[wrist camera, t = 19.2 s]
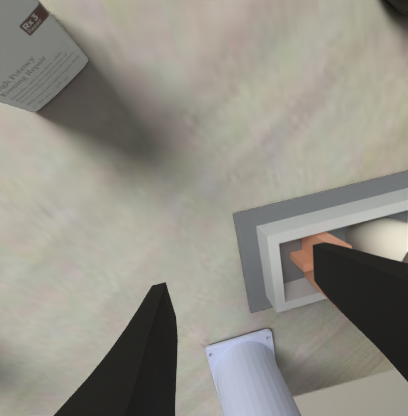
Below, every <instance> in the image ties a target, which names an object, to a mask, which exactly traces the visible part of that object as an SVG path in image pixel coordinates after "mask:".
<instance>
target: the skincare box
mask: <svg viewBox="0 0 408 416" xmlns="http://www.w3.org/2000/svg"><path fill="white" fill-rule="evenodd" d="M87 62H88V57H87V56H86V55H85V54H84V52H83V51H82V50H81V49H80V48H79V47H78V45H77V44H76V43H75V42H74V41H73V40H72V38H71V37H70V36H69V35H68V34H67V33H66V31H65V30H64V29H63V28H62V27H61V26H60V24H59V23H58V22H57V21H56V20H55V19H54V17H53V16H52V15H51V14H50V13H49V12H48V10H47V9H46V8H45V7H44V6H43V5H42V3H41V2H40V1H39V0H0V102H2V103H5V104H8V105H11V106H15V107H18V108H21V109H24V110H27V111H30V112H35V111H38V110H40V109H41V108H42V107H43V106H44V105H46V104H47V103H48V102H49V101H50V100H51V99H52V98H54V97H55V96H56V95H57V94H58V93H59V92H60V91H61V90H62V89H63V88H64V87H65V86H66V85H67V84H68V83H69V82H70V81H71V80H72V79H73V78H74V77H75V76H76V75H77V74H78V73H79V72H80V71H81V70H82V69H83V68H84V67H85V65H86V64H87Z"/></svg>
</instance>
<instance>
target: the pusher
mask: <svg viewBox="0 0 408 416" xmlns="http://www.w3.org/2000/svg"><path fill="white" fill-rule="evenodd" d="M301 241H302V250H298V251H295V252H291V253H290V260H292V261H293V262H294V263H295V264H296V265H297V266H298V267H299V268H300V269H301V270H302V271H303V272H304V277H305V278H306V279H307V280H308V281H309V282H310V283H311V284H312V285H313V286H314V287H316V288H317V289H318V290H319V291H320V292H321V293H322V294H323V295H324V296H325V297H326V298H327V296H326V295H325V294H324V293H323V292H322V290H321V289H320V288H319V286H318V285H317V284H316V282H315V281H314V268H313V245H315V244H319V243H323V242H327V243H332V244H336V245H340V246H344V247H348V248H351V249H352V246H351V245H349V244H347V243H346V242H344V241H342V240H340V239H338V238H336V237H334V236H332V235H331V234H329V233H327V232H322V233H318V234H314V235H310V236H306V237H303V238H301ZM327 299H328V298H327ZM328 300H329V299H328ZM329 301H330V300H329ZM330 302H331V301H330ZM331 303H332V302H331ZM332 304H333V303H332ZM333 305H334V304H333ZM334 306H335V305H334ZM335 307H336V306H335ZM336 308H337V307H336ZM337 309H338V308H337ZM338 310H339V309H338Z"/></svg>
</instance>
